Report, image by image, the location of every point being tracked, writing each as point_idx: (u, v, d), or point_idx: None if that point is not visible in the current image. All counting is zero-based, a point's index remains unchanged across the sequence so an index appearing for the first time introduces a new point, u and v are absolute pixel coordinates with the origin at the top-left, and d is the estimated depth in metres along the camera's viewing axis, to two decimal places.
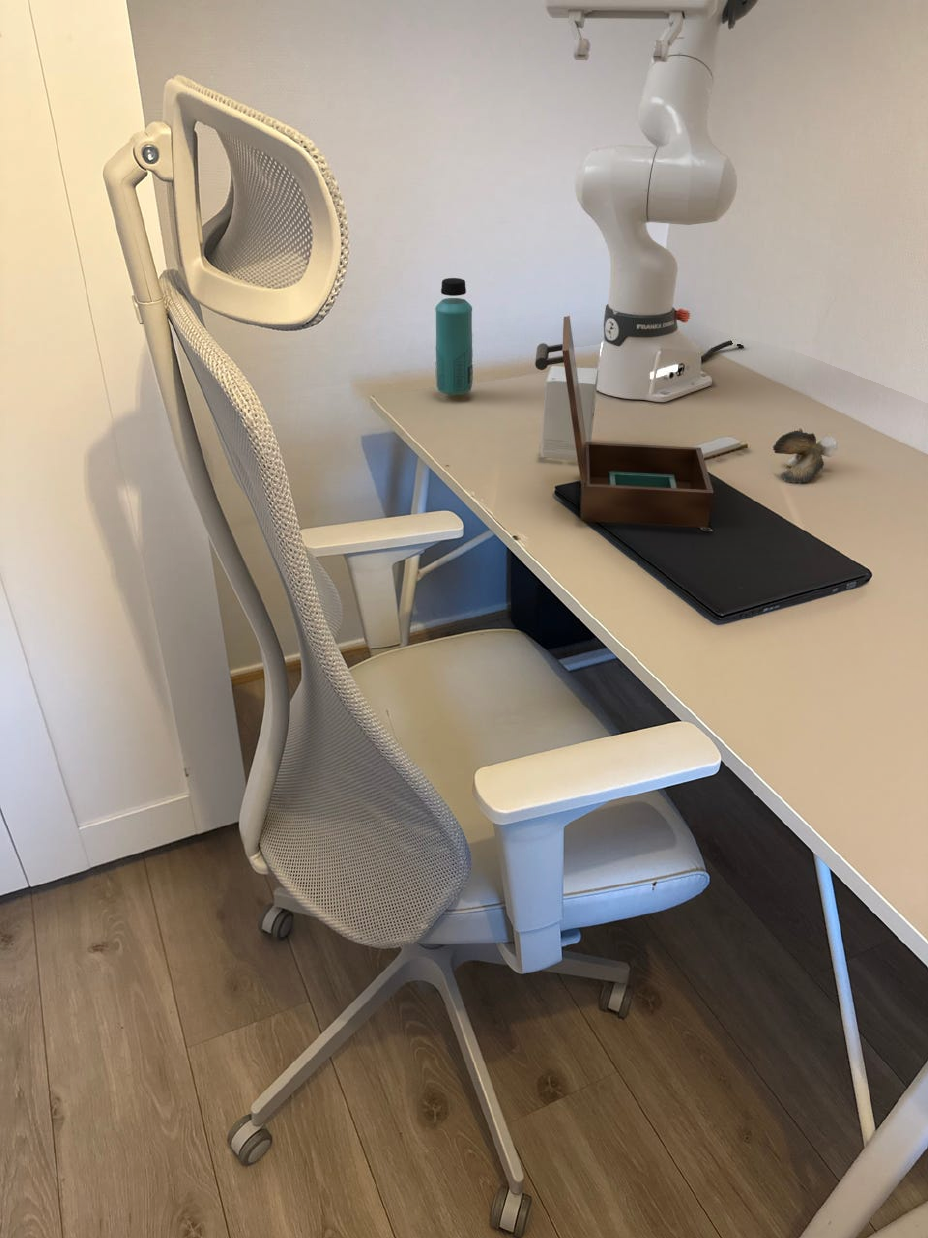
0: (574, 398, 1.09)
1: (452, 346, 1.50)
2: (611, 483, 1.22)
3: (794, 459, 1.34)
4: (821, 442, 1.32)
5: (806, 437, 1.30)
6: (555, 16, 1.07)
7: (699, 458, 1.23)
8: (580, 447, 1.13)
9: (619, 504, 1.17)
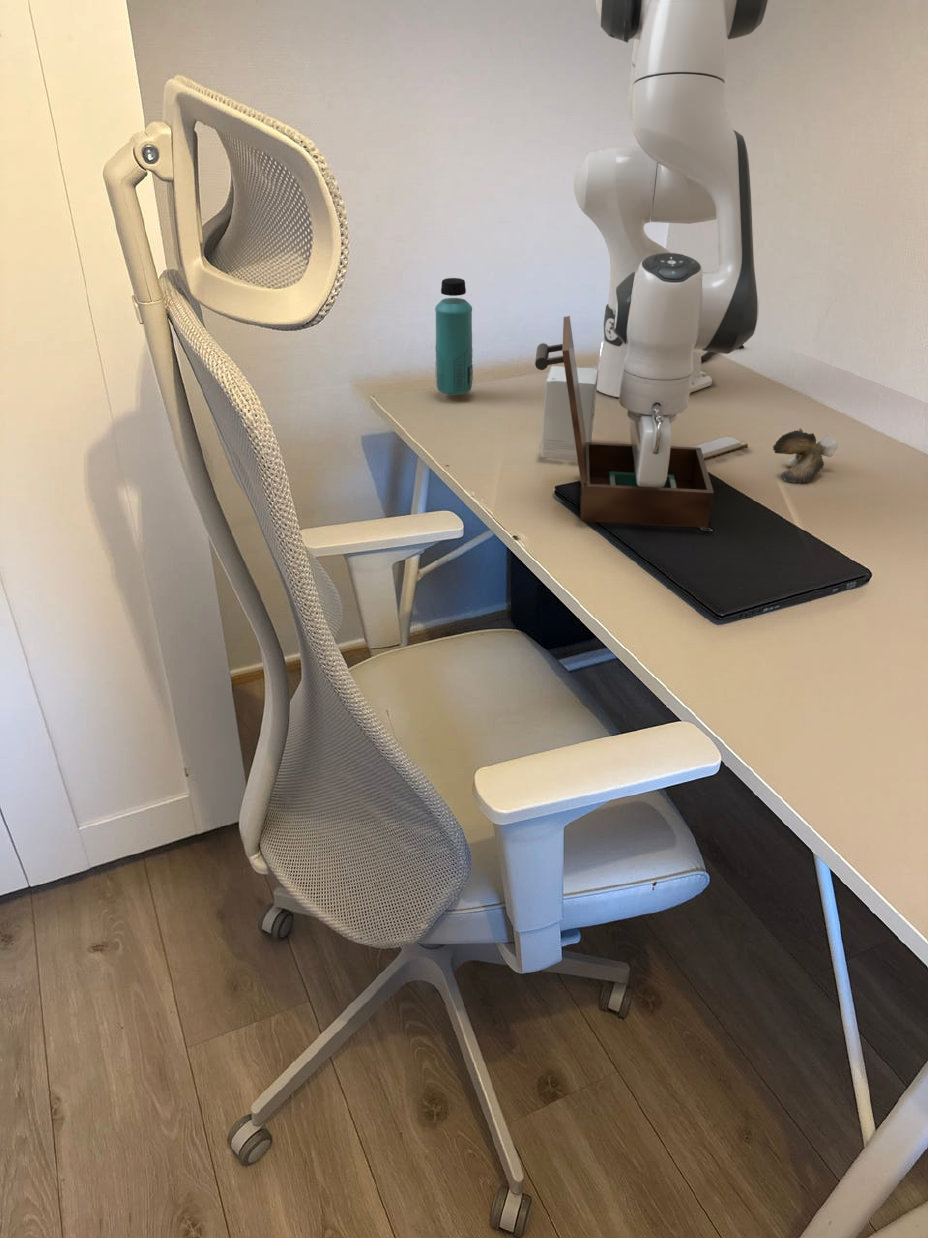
0: (574, 398, 1.09)
1: (452, 346, 1.50)
2: (611, 483, 1.22)
3: (794, 459, 1.34)
4: (821, 442, 1.32)
5: (806, 437, 1.30)
6: None
7: (699, 458, 1.23)
8: (580, 447, 1.13)
9: (619, 504, 1.17)
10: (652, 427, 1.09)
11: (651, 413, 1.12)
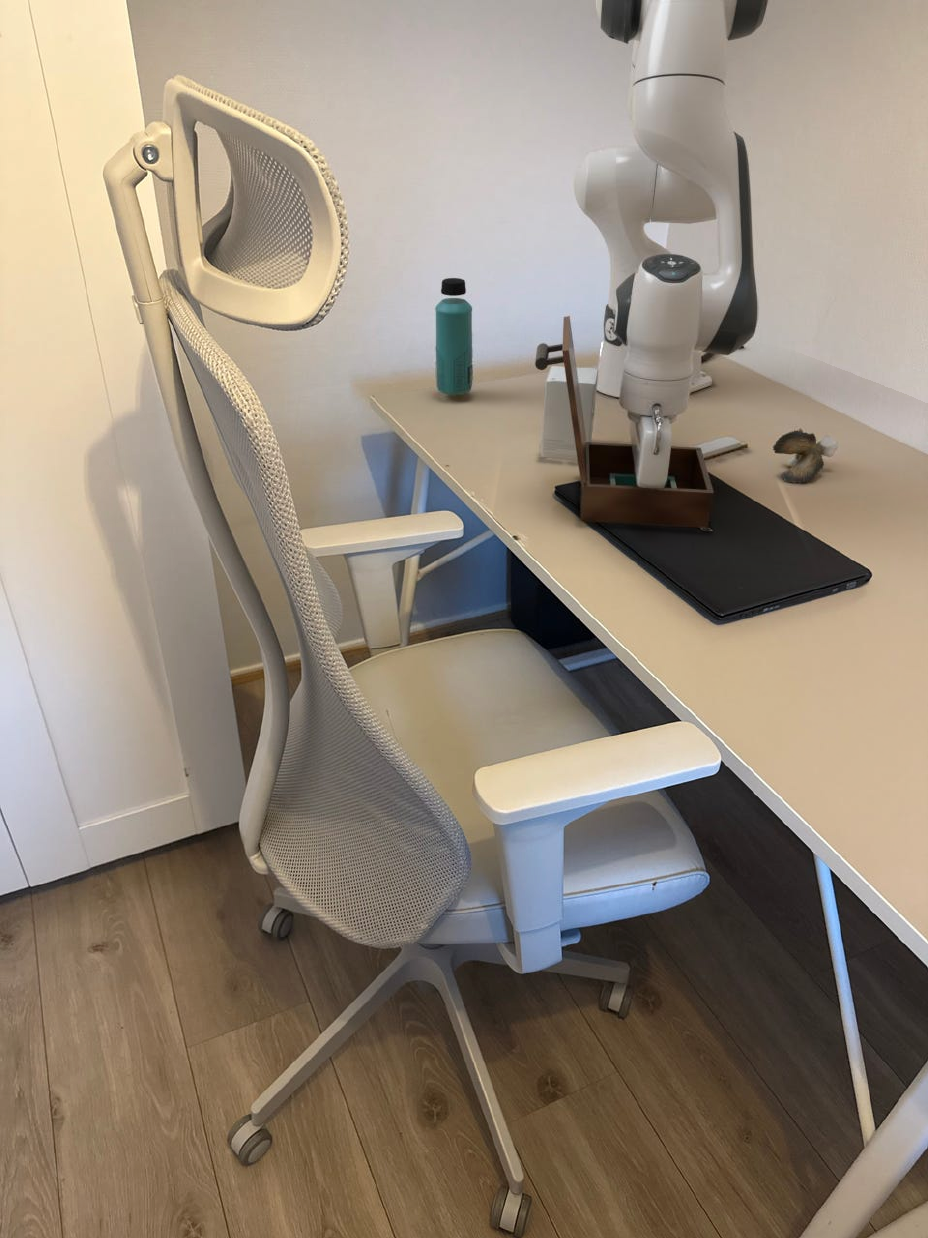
0: (574, 398, 1.09)
1: (452, 346, 1.50)
2: (611, 484, 1.21)
3: (794, 459, 1.34)
4: (821, 442, 1.32)
5: (806, 437, 1.30)
6: None
7: (699, 458, 1.23)
8: (580, 447, 1.13)
9: (619, 504, 1.17)
10: (652, 428, 1.09)
11: (651, 414, 1.12)
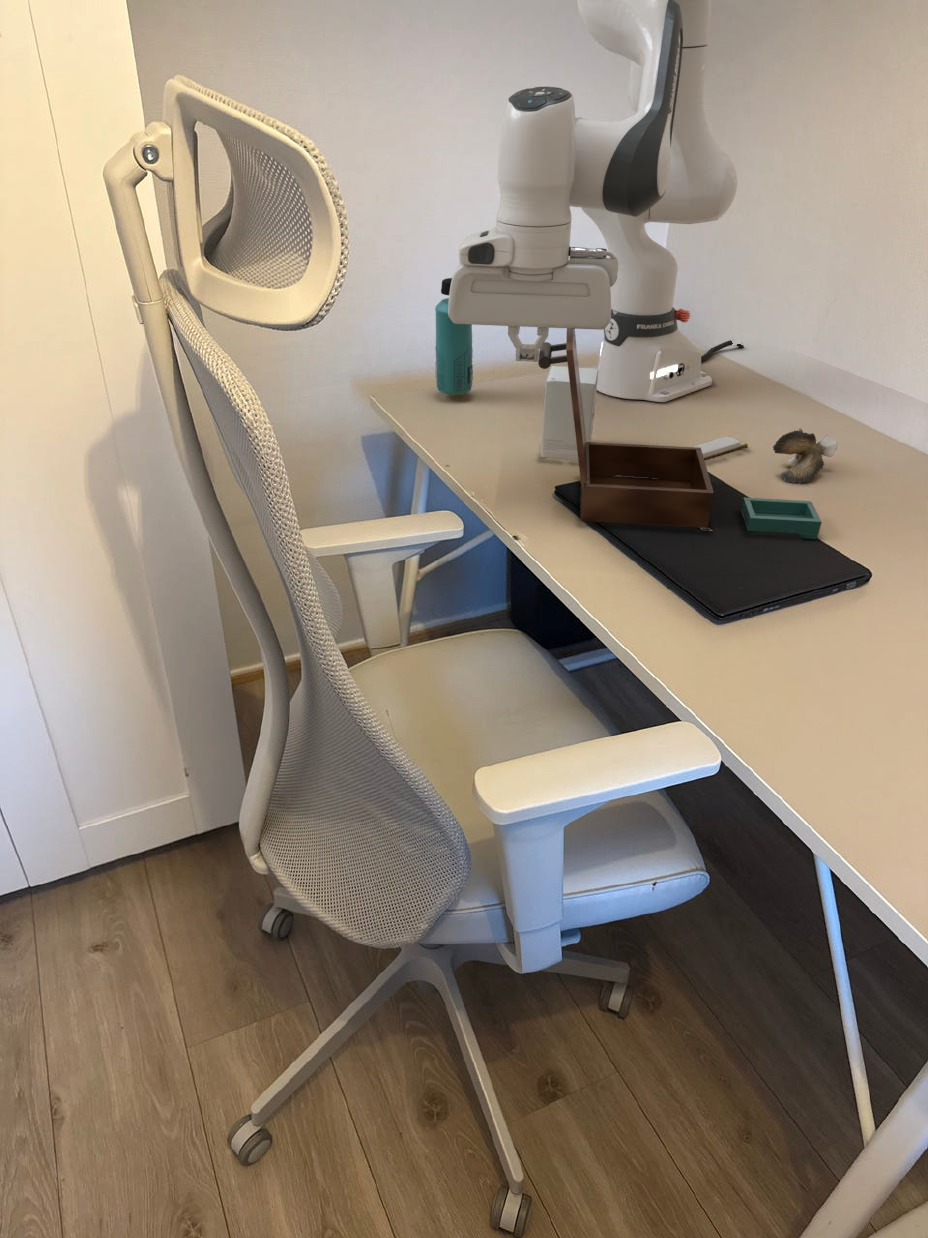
0: (577, 398, 1.09)
1: (452, 346, 1.50)
2: (749, 510, 1.17)
3: (794, 459, 1.34)
4: (821, 442, 1.32)
5: (806, 437, 1.30)
6: None
7: (699, 458, 1.23)
8: (581, 447, 1.13)
9: (619, 504, 1.17)
10: (597, 265, 1.07)
11: (568, 260, 1.07)
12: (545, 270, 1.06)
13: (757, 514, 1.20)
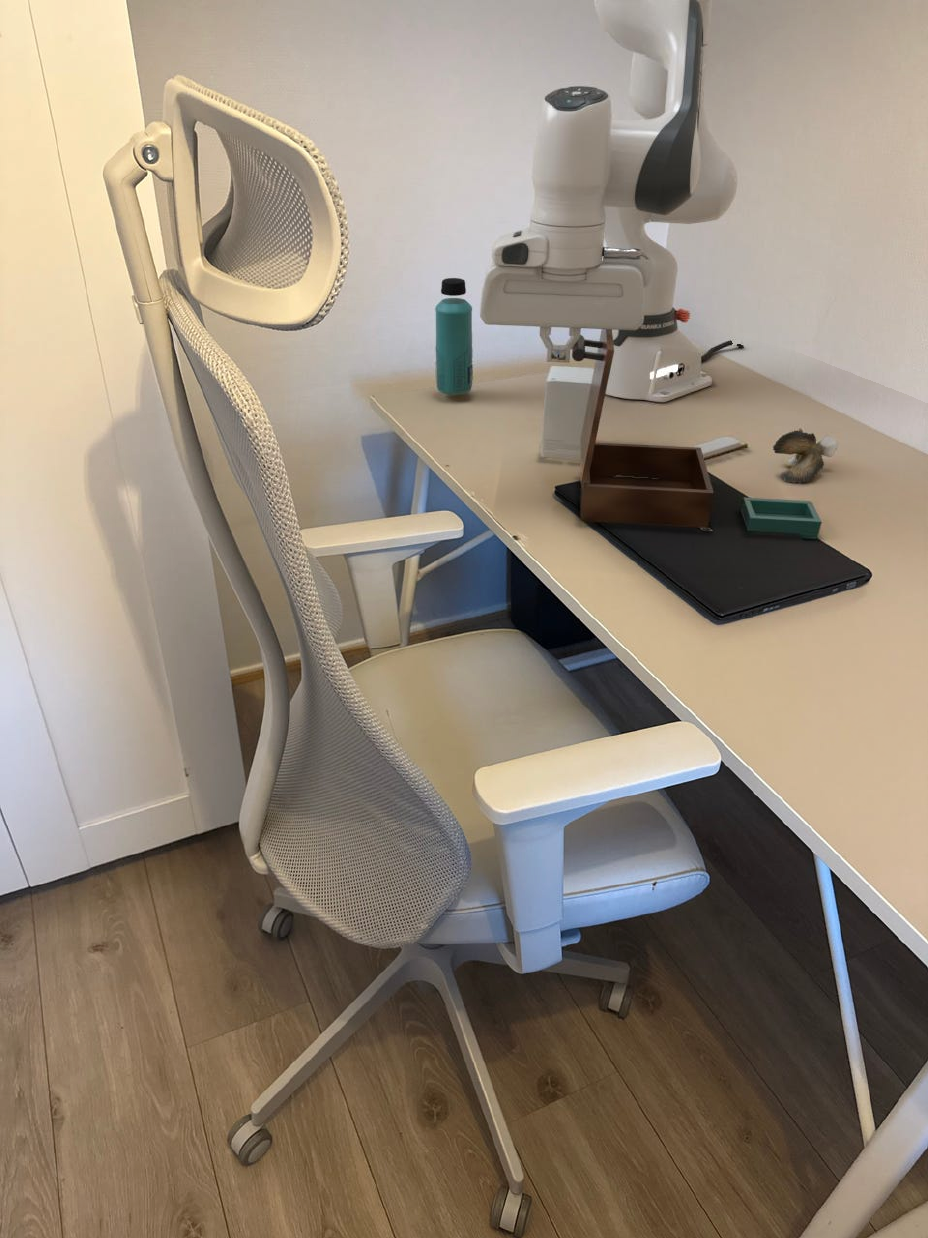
0: (603, 398, 1.09)
1: (452, 346, 1.50)
2: (749, 510, 1.17)
3: (794, 459, 1.34)
4: (821, 442, 1.32)
5: (806, 437, 1.30)
6: None
7: (699, 458, 1.23)
8: (592, 447, 1.13)
9: (619, 504, 1.17)
10: (631, 265, 1.06)
11: (601, 260, 1.06)
12: (579, 270, 1.05)
13: (757, 514, 1.20)
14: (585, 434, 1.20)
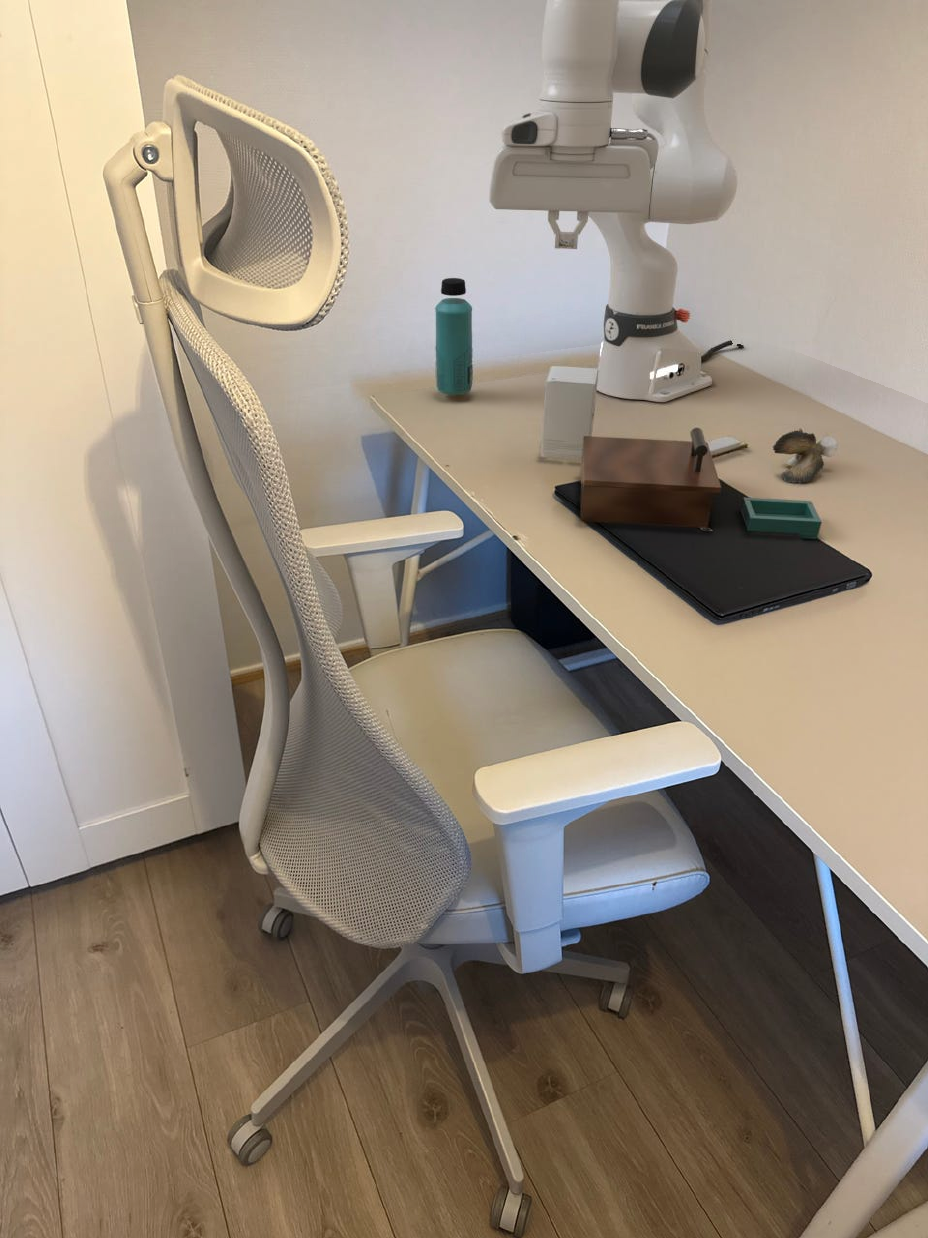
0: (672, 489, 1.15)
1: (452, 346, 1.50)
2: (749, 510, 1.17)
3: (794, 459, 1.34)
4: (821, 442, 1.32)
5: (806, 437, 1.30)
6: None
7: None
8: (622, 486, 1.15)
9: (619, 504, 1.17)
10: (638, 146, 1.09)
11: None
12: (587, 150, 1.08)
13: (757, 514, 1.20)
14: (609, 457, 1.21)
